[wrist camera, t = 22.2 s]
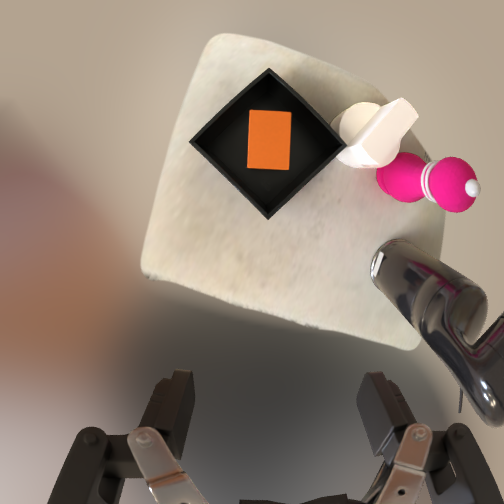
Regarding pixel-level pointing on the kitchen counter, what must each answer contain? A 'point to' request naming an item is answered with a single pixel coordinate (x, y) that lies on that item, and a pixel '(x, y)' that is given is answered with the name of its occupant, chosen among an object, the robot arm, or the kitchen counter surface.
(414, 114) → the cylinder with rectangular tab
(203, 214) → the kitchen counter surface
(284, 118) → the orange rectangular block
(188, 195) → the kitchen counter surface
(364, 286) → the kitchen counter surface
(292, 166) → the bin
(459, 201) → the pepper mill
